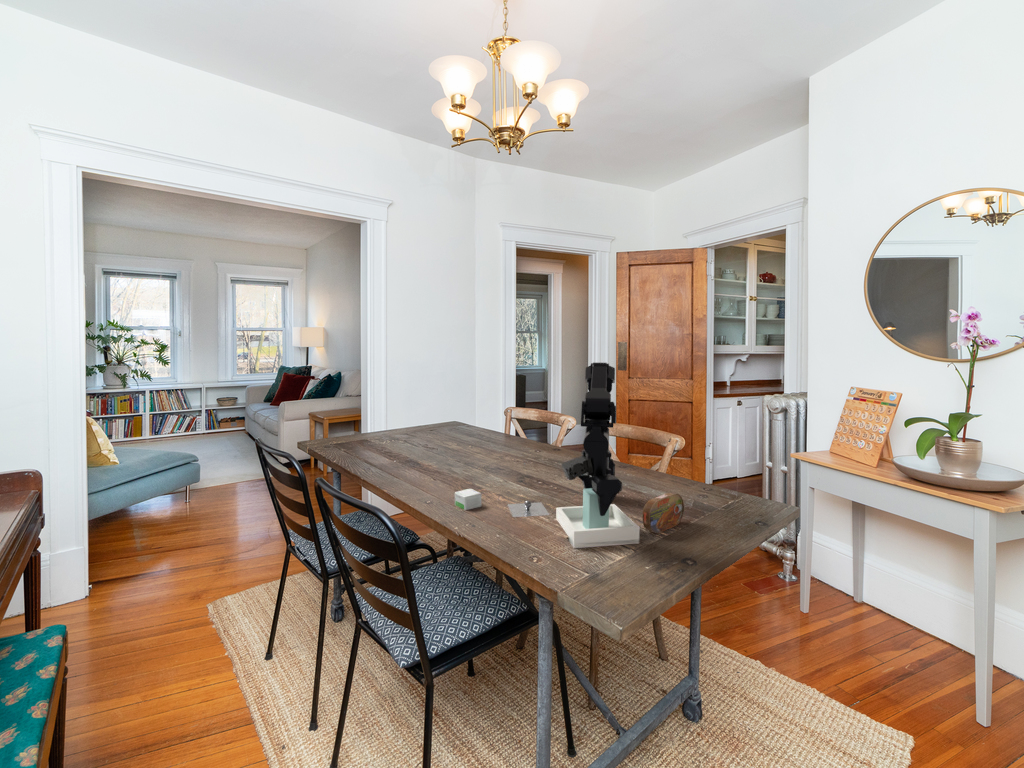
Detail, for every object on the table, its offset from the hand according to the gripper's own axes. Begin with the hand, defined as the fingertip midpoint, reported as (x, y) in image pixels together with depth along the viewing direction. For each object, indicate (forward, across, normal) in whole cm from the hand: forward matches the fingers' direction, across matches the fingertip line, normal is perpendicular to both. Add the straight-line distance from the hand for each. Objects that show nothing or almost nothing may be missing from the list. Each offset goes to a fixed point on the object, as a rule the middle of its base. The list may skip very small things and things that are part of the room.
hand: (595, 508), depth 122 cm
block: (+5, 0, 0) cm, 5 cm away
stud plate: (+6, -16, -14) cm, 22 cm away
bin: (+6, 0, 0) cm, 6 cm away
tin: (+6, 0, +18) cm, 19 cm away
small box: (+6, -22, -30) cm, 38 cm away
